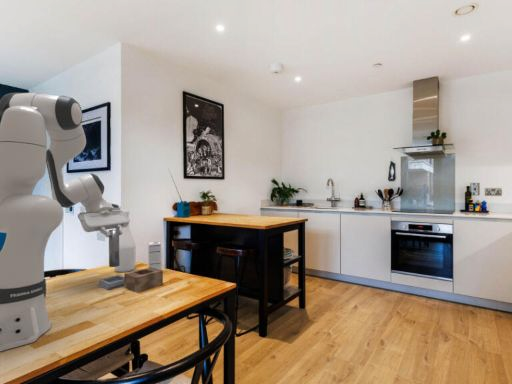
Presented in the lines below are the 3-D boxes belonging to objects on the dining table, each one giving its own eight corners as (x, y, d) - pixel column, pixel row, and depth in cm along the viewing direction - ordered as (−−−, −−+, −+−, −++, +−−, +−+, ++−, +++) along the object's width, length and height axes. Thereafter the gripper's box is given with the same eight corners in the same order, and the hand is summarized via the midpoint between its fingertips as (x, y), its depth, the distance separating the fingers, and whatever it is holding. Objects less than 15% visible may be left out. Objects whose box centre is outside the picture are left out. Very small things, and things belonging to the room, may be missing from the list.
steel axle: (112, 267, 123) (111, 231, 123) (107, 266, 126) (106, 230, 125) (121, 265, 127) (121, 230, 126) (116, 264, 129) (116, 229, 129)
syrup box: (161, 273, 143) (161, 243, 143) (148, 274, 141) (148, 244, 141) (160, 270, 149) (160, 241, 148) (148, 271, 146) (148, 242, 146)
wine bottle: (134, 271, 146) (134, 210, 146) (113, 273, 144) (112, 210, 143) (136, 266, 155) (136, 209, 155) (116, 268, 153) (116, 209, 152)
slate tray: (109, 290, 120) (109, 283, 120) (98, 285, 125) (98, 279, 125) (130, 284, 127) (130, 278, 127) (118, 280, 132) (118, 274, 132)
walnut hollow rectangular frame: (136, 292, 117) (136, 277, 117) (124, 288, 122) (124, 273, 122) (162, 284, 127) (162, 270, 127) (150, 280, 132) (150, 267, 132)
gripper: (79, 207, 120) (95, 233, 115) (122, 204, 138) (138, 227, 134) (72, 218, 122) (88, 244, 117) (116, 214, 140) (131, 236, 136)
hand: (115, 235), depth 126 cm, fingers closed on steel axle, 4 cm apart
